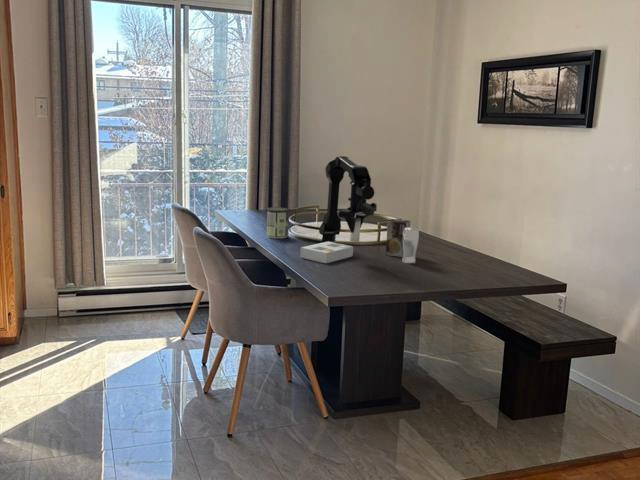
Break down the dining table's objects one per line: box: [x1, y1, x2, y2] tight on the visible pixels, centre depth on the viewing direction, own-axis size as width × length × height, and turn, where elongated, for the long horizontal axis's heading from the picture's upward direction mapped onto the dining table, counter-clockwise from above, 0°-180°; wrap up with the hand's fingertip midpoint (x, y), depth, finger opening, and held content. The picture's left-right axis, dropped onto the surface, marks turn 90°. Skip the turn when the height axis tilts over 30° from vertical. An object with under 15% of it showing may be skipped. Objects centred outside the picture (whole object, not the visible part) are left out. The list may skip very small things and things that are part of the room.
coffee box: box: [385, 218, 411, 258], centre depth 300 cm, size 9×6×16 cm
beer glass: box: [401, 226, 420, 265], centre depth 287 cm, size 7×7×15 cm
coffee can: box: [266, 206, 289, 239], centre depth 328 cm, size 10×10×14 cm
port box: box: [299, 241, 354, 264], centre depth 291 cm, size 20×14×5 cm
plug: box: [349, 218, 361, 243], centre depth 283 cm, size 4×4×10 cm
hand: (355, 231), depth 283 cm, fingers closed on plug, 4 cm apart
